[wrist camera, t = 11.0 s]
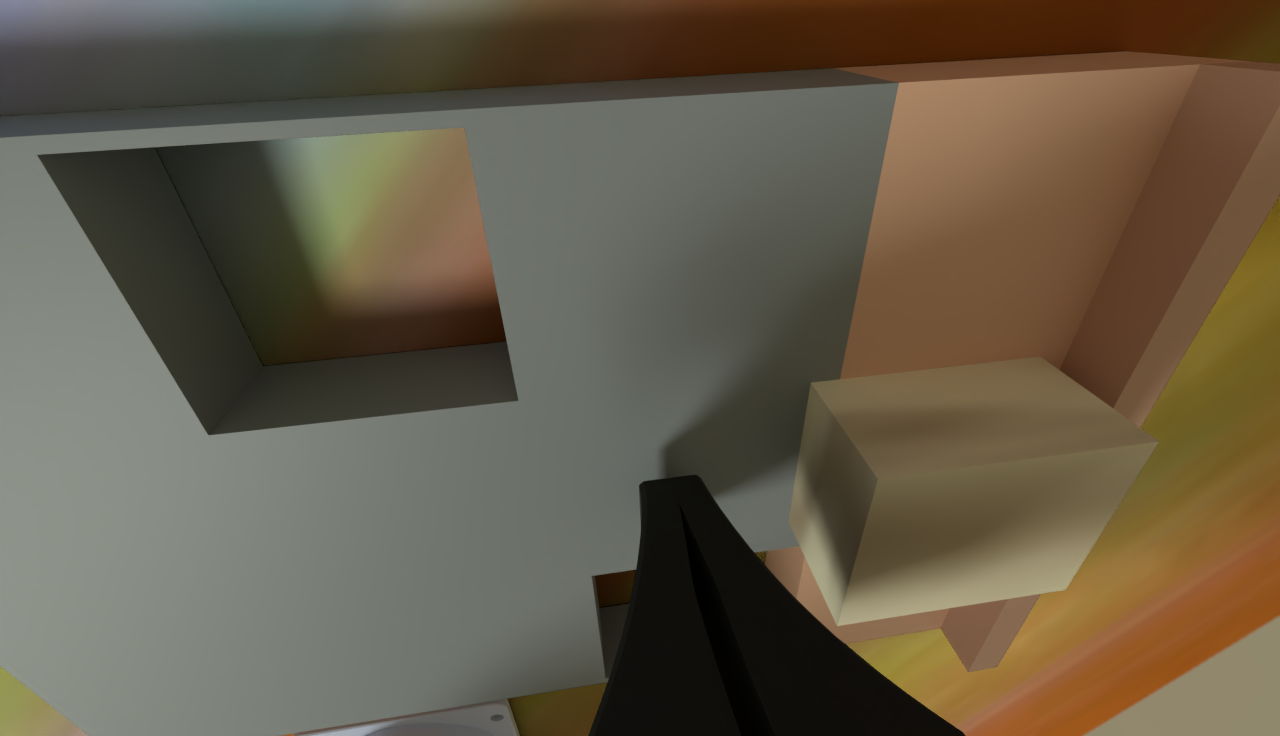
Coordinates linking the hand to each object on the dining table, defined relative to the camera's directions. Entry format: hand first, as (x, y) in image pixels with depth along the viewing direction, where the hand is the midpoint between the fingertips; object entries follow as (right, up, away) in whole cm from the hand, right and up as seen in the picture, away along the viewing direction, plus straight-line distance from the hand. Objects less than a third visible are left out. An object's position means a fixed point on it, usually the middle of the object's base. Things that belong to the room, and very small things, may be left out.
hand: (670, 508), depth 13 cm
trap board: (-3, +1, +2) cm, 4 cm away
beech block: (+6, +1, +1) cm, 6 cm away
